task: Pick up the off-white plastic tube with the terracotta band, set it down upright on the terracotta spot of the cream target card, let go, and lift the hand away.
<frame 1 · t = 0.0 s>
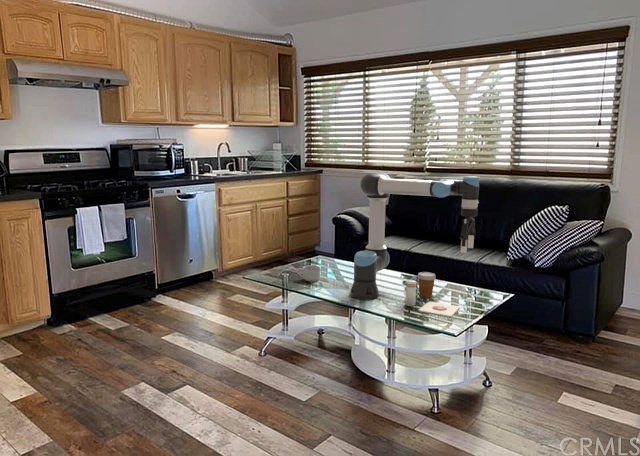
hand: (467, 250, 245), 28 cm above the table, tool pointing down, fingers open, 13 cm apart
plastic tube: (410, 304, 249), on the table
teacup: (308, 280, 291), on the table
target card: (439, 309, 241), on the table
disposable coffee cup: (425, 296, 263), on the table
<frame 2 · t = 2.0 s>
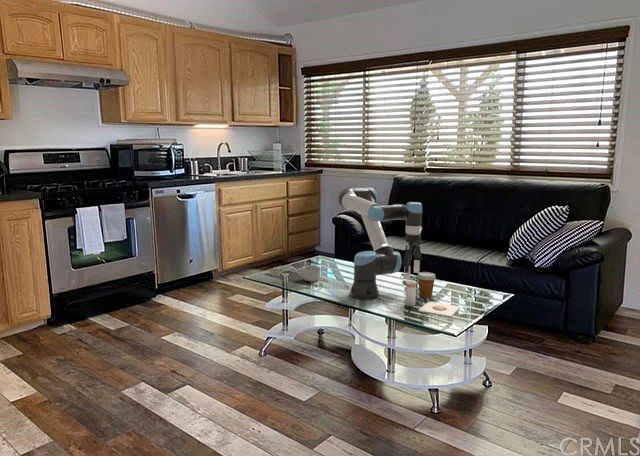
hand: (411, 275, 246), 15 cm above the table, tool pointing down, fingers open, 13 cm apart
nothing on the table moved.
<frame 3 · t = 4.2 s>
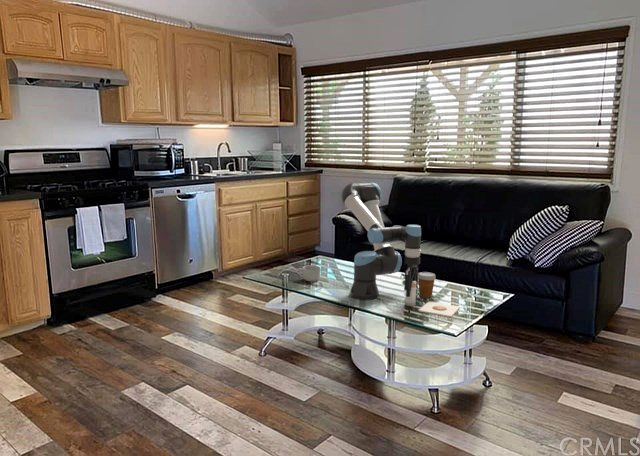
hand: (410, 300, 248), 2 cm above the table, tool pointing down, fingers closed on plastic tube, 5 cm apart
plastic tube: (410, 304, 249), on the table, touching gripper
everything else where it was.
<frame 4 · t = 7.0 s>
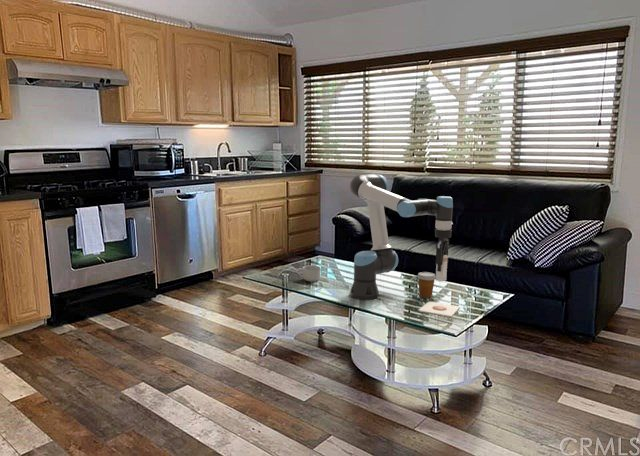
hand: (441, 276, 238), 17 cm above the table, tool pointing down, fingers closed on plastic tube, 5 cm apart
plastic tube: (440, 279, 239), point 15 cm above the table, touching gripper
everything else where it was.
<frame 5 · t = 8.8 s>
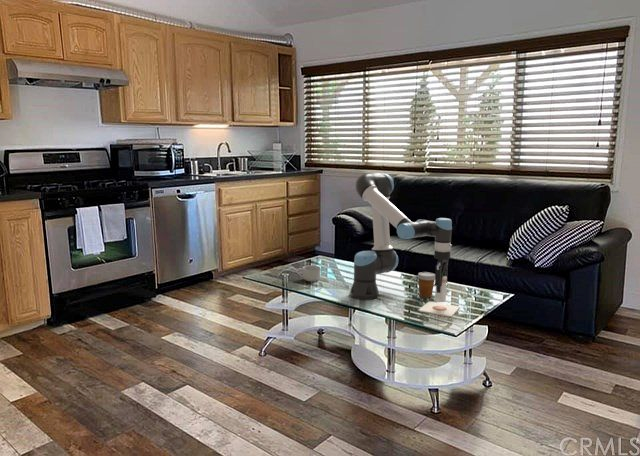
hand: (440, 297, 240), 6 cm above the table, tool pointing down, fingers closed on plastic tube, 5 cm apart
plastic tube: (440, 300, 240), point 5 cm above the table, touching gripper
everything else where it was.
when the fingers open (3 cm above the table, at t = 10.2 s): plastic tube stays where it is, resting on target card.
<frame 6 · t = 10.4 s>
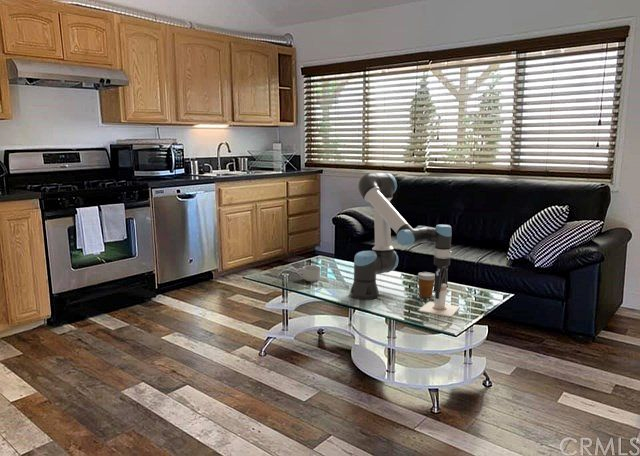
hand: (439, 302, 240), 4 cm above the table, tool pointing down, fingers open, 8 cm apart
plastic tube: (439, 308, 241), point 1 cm above the table, touching target card
everything else where it was.
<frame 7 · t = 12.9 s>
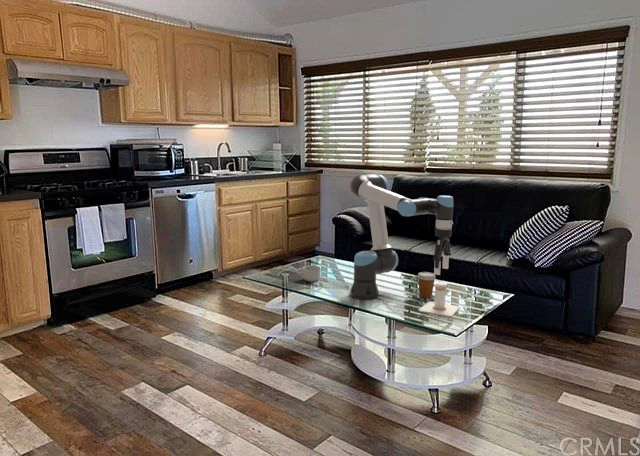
hand: (441, 271, 238), 19 cm above the table, tool pointing down, fingers open, 13 cm apart
nothing on the table moved.
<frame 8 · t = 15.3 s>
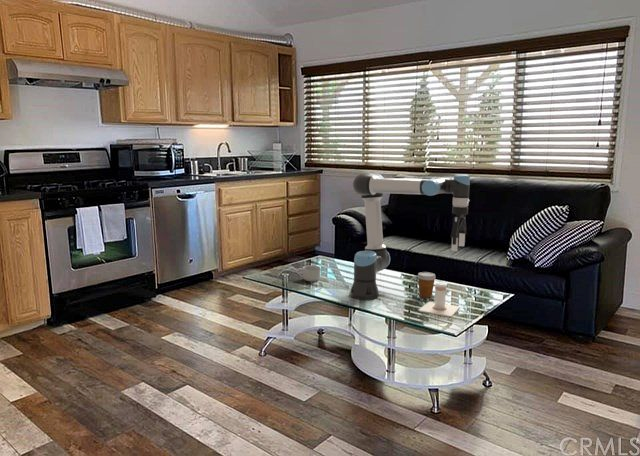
hand: (458, 248, 245), 29 cm above the table, tool pointing down, fingers open, 13 cm apart
nothing on the table moved.
at the end: plastic tube inside the target area on the target card (0.0 cm from its centre), point 0.7 cm above the target card's base; plastic tube tilted 0°; the gripper is holding nothing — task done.
